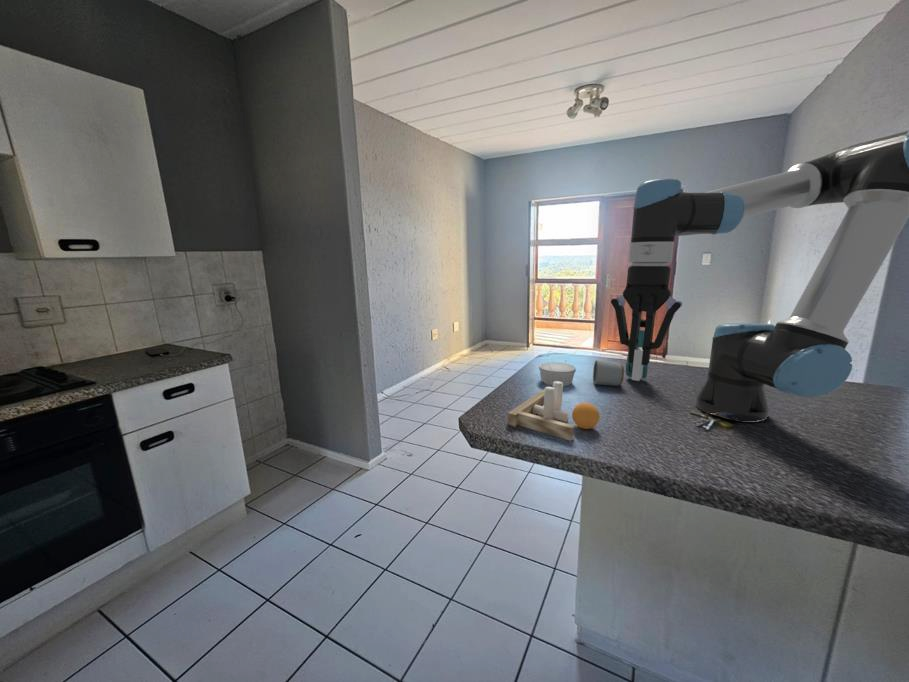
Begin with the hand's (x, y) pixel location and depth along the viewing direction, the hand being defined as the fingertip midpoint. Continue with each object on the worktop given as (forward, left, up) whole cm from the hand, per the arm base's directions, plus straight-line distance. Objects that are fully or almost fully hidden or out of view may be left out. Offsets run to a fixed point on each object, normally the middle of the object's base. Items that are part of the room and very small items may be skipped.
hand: (636, 378), depth 78 cm
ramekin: (+28, -27, -14) cm, 41 cm away
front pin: (+14, 0, -13) cm, 19 cm away
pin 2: (+18, -2, -14) cm, 23 cm away
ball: (+10, 0, -11) cm, 15 cm away
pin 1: (+18, +2, -14) cm, 23 cm away
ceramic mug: (+15, -35, -14) cm, 41 cm away
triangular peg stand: (+17, 0, -14) cm, 22 cm away
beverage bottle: (+8, -44, -14) cm, 47 cm away
